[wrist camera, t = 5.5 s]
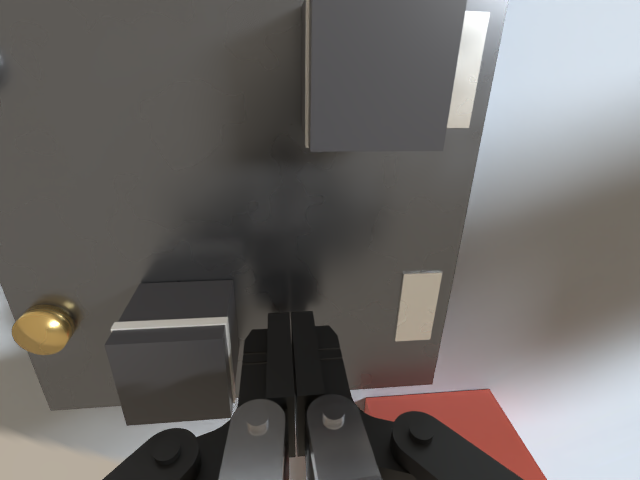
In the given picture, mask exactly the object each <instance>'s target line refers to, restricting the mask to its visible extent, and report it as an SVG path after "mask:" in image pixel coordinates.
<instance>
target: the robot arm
mask: <svg viewBox="0 0 640 480" xmlns="http://www.w3.org/2000/svg"><path fill="white" fill-rule="evenodd" d="M291 342H292V345H291ZM295 421H296V438H297V455H298V456H305V459H306V480H524V479H522V478H521V477H519V476H518V475H516V474H515V473H514V472H512V471H511V470H509V469H508V468H506V467H505V466H503V465H502V464H501V463H499V462H498V461H496V460H495V459H493V458H492V457H491V456H489V455H488V454H486V453H485V452H483V451H482V450H481V449H479V448H478V447H476V446H475V445H473V444H472V443H470V442H469V441H468V440H466V439H465V438H463V437H462V436H460V435H459V434H458V433H456V432H455V431H453V430H452V429H450V428H449V427H448V426H446V425H445V424H443V423H442V422H440V421H439V420H437V419H436V418H434V417H433V416H431V415H429V414H427V413H424V412H419V411H409V412H405V413H403V414H401V415H399V416H398V417H397V418H396V419H395V421H394V422H393V421H388V420H384V419H379V418H375V417H372V416H370V415H368V414H366V413H364V412H363V411H362V410H360V409H359V408H358V407H357V406H356V404H355V403H354V401H353V399H352V397H351V393H350V388H349V384H348V380H347V375H346V371H345V366H344V362H343V359H342V353H341V349H340V344H339V340H338V335H337V334H336V333H335V332H334V331H333V329H332V328H331V327H330V326H329V325H326V326H315V322H314V316H313V311H299V312H291V329H290V313H289V312H280V313H268V328H267V329H252V330H251V332H250V333H249V335H248V336H247V337H246V339H245V340H244V350H243V360H242V370H241V380H240V390H239V400H238V406H237V409H236V411H235V412H234V414H233V416H232V418H231V419H230V420H229V421H228V422H227V423H226V424H224V425H223V426H222V427H220V428H218V429H216V430H214V431H212V432H209V433H206V434H204V435H201V436H198V437H195V435H194V434H193V433H192V432H190V431H188V430H186V429H181V428H172V429H167V430H164V431H162V432H159V433H157V434H156V435H154V436H152V437H151V438H150V439H149V440H147V441H146V442H145V443H144V444H143V445H142V446H141V447H139V448H138V449H137V450H136V451H135V452H134V453H132V454H131V455H130V456H129V457H128V458H127V459H126V460H124V461H123V462H122V463H121V464H120V465H119V466H118V467H116V468H115V469H114V470H113V471H112V472H111V473H109V474H108V475H107V476H106V477H105V478H104V479H103V480H289V457H295Z"/></svg>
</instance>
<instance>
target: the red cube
mask: <svg viewBox="0 0 640 480" xmlns="http://www.w3.org/2000/svg"><path fill="white" fill-rule="evenodd" d="M409 411H419V412H424V413H427V414H429V415H431V416H433V417H434V418H436V419H437V420H439V421H440V422H442V423H443V424H445V425H446V426H448V427H449V428H450V429H452V430H453V431H455V432H456V433H458V434H459V435H460V436H462V437H463V438H465V439H466V440H468V441H469V442H470V443H472V444H473V445H475V446H476V447H478V448H479V449H481V450H482V451H483V452H485V453H486V454H488V455H489V456H491V457H492V458H493V459H495V460H496V461H498V462H499V463H501V464H502V465H503V466H505V467H506V468H508V469H509V470H511V471H512V472H514V473H515V474H516V475H518V476H519V477H521V478H522V479H524V480H547V479H546V477H545V476H544V474H543V473H542V471H541V470H540V468H539V466H538V465H537V463H536V462H535V460H534V459H533V457H532V455H531V454H530V452H529V451H528V449H527V448H526V446H525V444H524V443H523V441H522V440H521V438H520V437H519V435H518V433H517V432H516V430H515V429H514V427H513V426H512V424H511V422H510V421H509V419H508V418H507V416H506V415H505V413H504V411H503V410H502V408H501V407H500V405H499V404H498V402H497V400H496V399H495V397H494V396H493V394H492V393H491V391H490V389H484V390H470V391H456V392H442V393H428V394H414V395H400V396H386V397H372V398H366V400H365V410H364V413H366V414H368V415H370V416H372V417H375V418H379V419H384V420H388V421H393V422H394V421H395V419H396V418H397V417H398V416H399V415H401V414H403V413H405V412H409Z"/></svg>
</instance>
